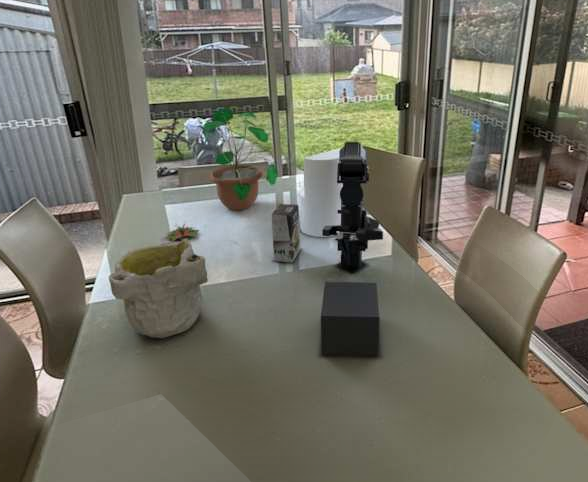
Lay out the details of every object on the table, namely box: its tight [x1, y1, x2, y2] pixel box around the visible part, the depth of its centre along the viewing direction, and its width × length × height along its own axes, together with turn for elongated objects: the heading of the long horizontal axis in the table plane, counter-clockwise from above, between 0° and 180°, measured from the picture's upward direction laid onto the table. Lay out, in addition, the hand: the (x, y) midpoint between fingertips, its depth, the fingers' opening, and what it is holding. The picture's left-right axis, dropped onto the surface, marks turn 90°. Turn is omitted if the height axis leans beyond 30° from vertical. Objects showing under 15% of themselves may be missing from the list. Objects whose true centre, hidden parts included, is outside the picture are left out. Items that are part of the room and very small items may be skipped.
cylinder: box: [297, 147, 343, 238], centre depth 157 cm, size 17×17×28 cm
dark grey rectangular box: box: [320, 281, 380, 357], centre depth 103 cm, size 14×13×11 cm
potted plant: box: [203, 108, 279, 211], centre depth 177 cm, size 31×29×40 cm
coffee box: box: [270, 203, 301, 264], centre depth 139 cm, size 9×6×16 cm
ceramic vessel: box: [108, 239, 209, 339], centre depth 108 cm, size 23×24×25 cm
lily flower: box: [163, 221, 201, 242], centre depth 155 cm, size 12×12×5 cm
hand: (351, 265), depth 116 cm, fingers closed
